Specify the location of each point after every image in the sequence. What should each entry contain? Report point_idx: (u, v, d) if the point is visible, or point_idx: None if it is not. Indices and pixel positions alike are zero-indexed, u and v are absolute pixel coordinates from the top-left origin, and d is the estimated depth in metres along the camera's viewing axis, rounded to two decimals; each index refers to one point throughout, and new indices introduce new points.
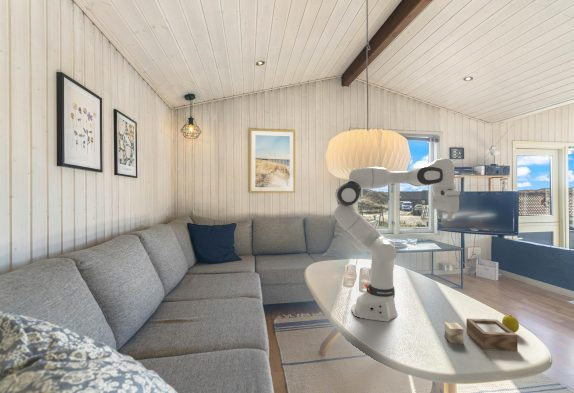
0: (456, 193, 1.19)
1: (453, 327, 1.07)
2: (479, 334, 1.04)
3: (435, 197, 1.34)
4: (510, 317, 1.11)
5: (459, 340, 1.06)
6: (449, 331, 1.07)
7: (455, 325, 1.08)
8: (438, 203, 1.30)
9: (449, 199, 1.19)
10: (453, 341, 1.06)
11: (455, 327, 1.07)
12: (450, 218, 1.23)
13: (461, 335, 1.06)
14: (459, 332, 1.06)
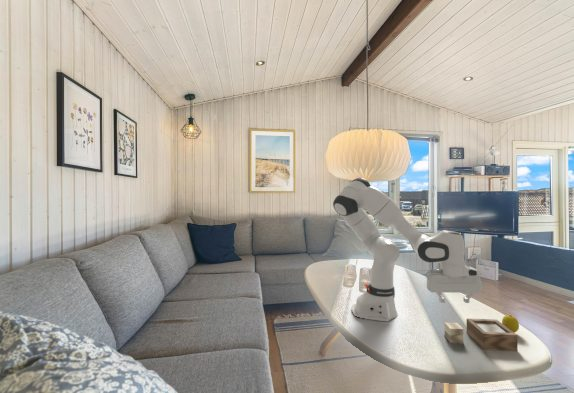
0: None
1: (453, 327, 1.07)
2: (479, 334, 1.04)
3: (440, 278, 1.07)
4: (510, 317, 1.11)
5: (459, 340, 1.06)
6: (449, 331, 1.07)
7: (455, 325, 1.08)
8: (450, 284, 1.06)
9: None
10: (453, 341, 1.06)
11: (455, 327, 1.07)
12: None
13: (461, 335, 1.06)
14: (459, 332, 1.06)
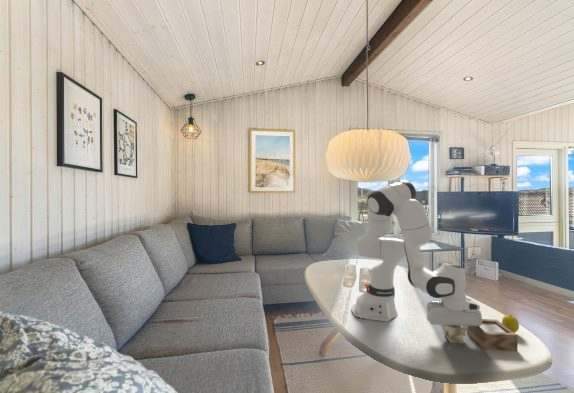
0: None
1: (453, 326, 1.07)
2: (479, 334, 1.04)
3: (441, 310, 1.07)
4: (510, 317, 1.11)
5: (459, 340, 1.06)
6: (449, 331, 1.07)
7: (455, 325, 1.08)
8: (450, 317, 1.07)
9: None
10: (453, 341, 1.06)
11: (455, 327, 1.07)
12: None
13: (461, 335, 1.06)
14: (459, 332, 1.06)
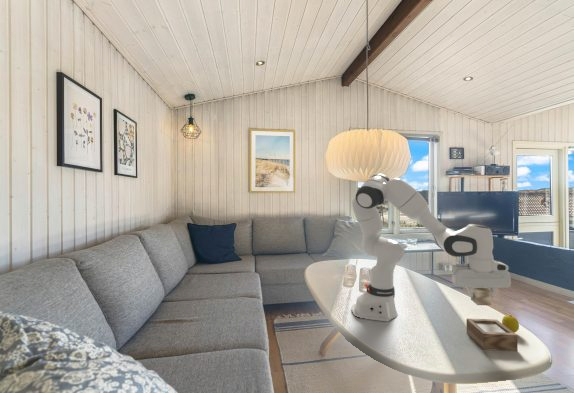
0: None
1: (480, 289, 1.05)
2: (479, 334, 1.04)
3: (467, 272, 1.05)
4: (510, 317, 1.11)
5: (487, 302, 1.03)
6: (476, 293, 1.04)
7: (482, 288, 1.06)
8: (477, 279, 1.04)
9: None
10: (480, 303, 1.04)
11: (482, 289, 1.04)
12: None
13: (489, 297, 1.03)
14: (487, 294, 1.03)
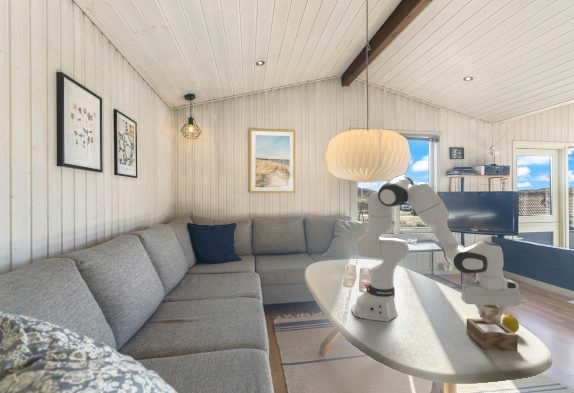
0: None
1: (490, 306, 1.04)
2: (479, 334, 1.04)
3: (477, 289, 1.04)
4: (510, 317, 1.11)
5: (496, 320, 1.03)
6: (486, 311, 1.04)
7: (491, 305, 1.05)
8: (487, 296, 1.04)
9: None
10: (490, 321, 1.03)
11: (492, 307, 1.04)
12: None
13: (498, 315, 1.03)
14: (496, 311, 1.03)
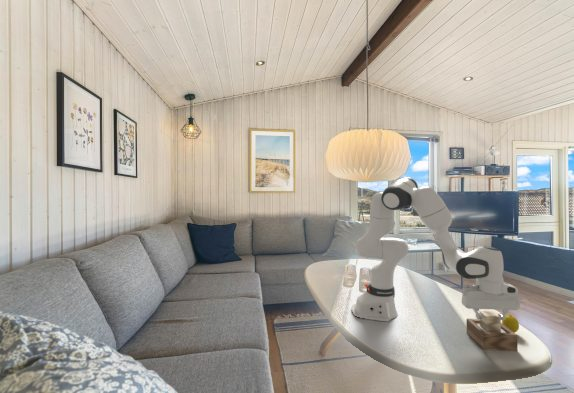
0: None
1: (490, 315, 1.05)
2: (479, 334, 1.04)
3: (477, 294, 1.05)
4: (510, 317, 1.11)
5: (496, 329, 1.04)
6: (486, 320, 1.05)
7: (491, 314, 1.06)
8: (487, 301, 1.05)
9: None
10: (490, 330, 1.04)
11: (492, 315, 1.05)
12: None
13: (498, 323, 1.04)
14: (496, 320, 1.04)
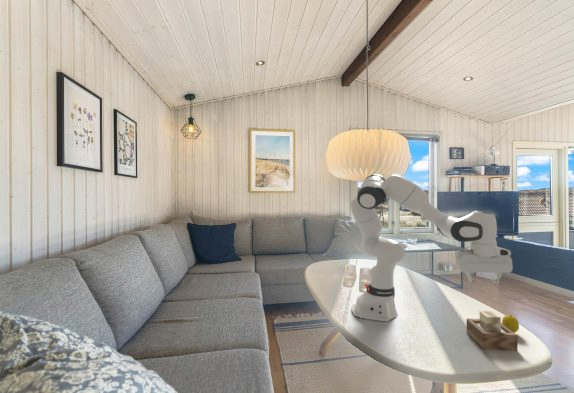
0: None
1: (490, 315, 1.05)
2: (479, 334, 1.04)
3: (471, 257, 1.07)
4: (510, 317, 1.11)
5: (496, 329, 1.04)
6: (486, 320, 1.05)
7: (491, 314, 1.06)
8: (480, 264, 1.07)
9: None
10: (490, 330, 1.04)
11: (492, 315, 1.05)
12: None
13: (498, 323, 1.04)
14: (496, 320, 1.04)
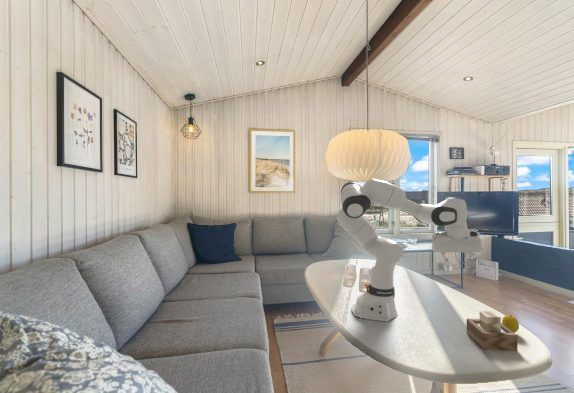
0: None
1: (490, 315, 1.05)
2: (479, 334, 1.04)
3: (444, 239, 1.19)
4: (510, 317, 1.11)
5: (496, 329, 1.04)
6: (486, 320, 1.05)
7: (491, 314, 1.06)
8: (453, 245, 1.19)
9: None
10: (490, 330, 1.04)
11: (492, 315, 1.05)
12: None
13: (498, 323, 1.04)
14: (496, 320, 1.04)
